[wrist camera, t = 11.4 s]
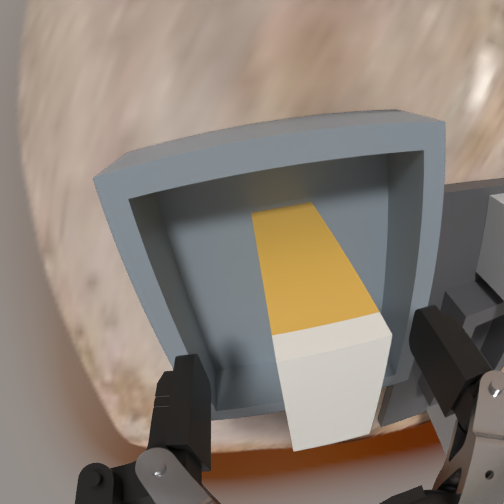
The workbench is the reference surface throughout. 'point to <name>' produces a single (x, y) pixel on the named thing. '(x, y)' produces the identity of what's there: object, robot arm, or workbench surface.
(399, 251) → the tray
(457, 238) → the fuse block
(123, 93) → the workbench surface
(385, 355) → the block
